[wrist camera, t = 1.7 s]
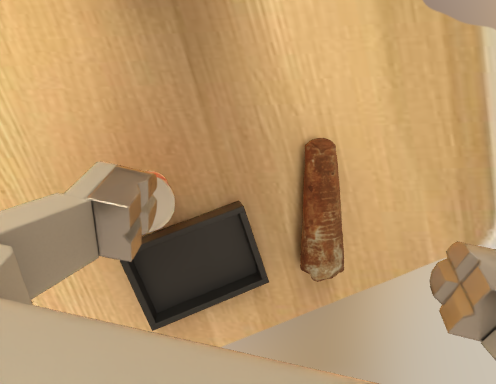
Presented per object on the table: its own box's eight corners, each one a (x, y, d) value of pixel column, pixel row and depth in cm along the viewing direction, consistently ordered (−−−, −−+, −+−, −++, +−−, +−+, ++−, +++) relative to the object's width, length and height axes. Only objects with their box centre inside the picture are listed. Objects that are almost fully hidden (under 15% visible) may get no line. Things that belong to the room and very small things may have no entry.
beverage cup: (130, 215, 42) (110, 256, 29) (120, 168, 41) (95, 189, 27) (178, 206, 43) (180, 243, 30) (170, 161, 42) (169, 177, 29)
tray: (120, 245, 43) (116, 253, 40) (239, 200, 45) (243, 205, 42) (153, 318, 46) (152, 331, 43) (263, 273, 48) (269, 282, 45)
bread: (294, 267, 49) (308, 284, 43) (297, 137, 45) (313, 139, 40) (333, 263, 50) (352, 279, 45) (339, 137, 46) (360, 138, 41)
